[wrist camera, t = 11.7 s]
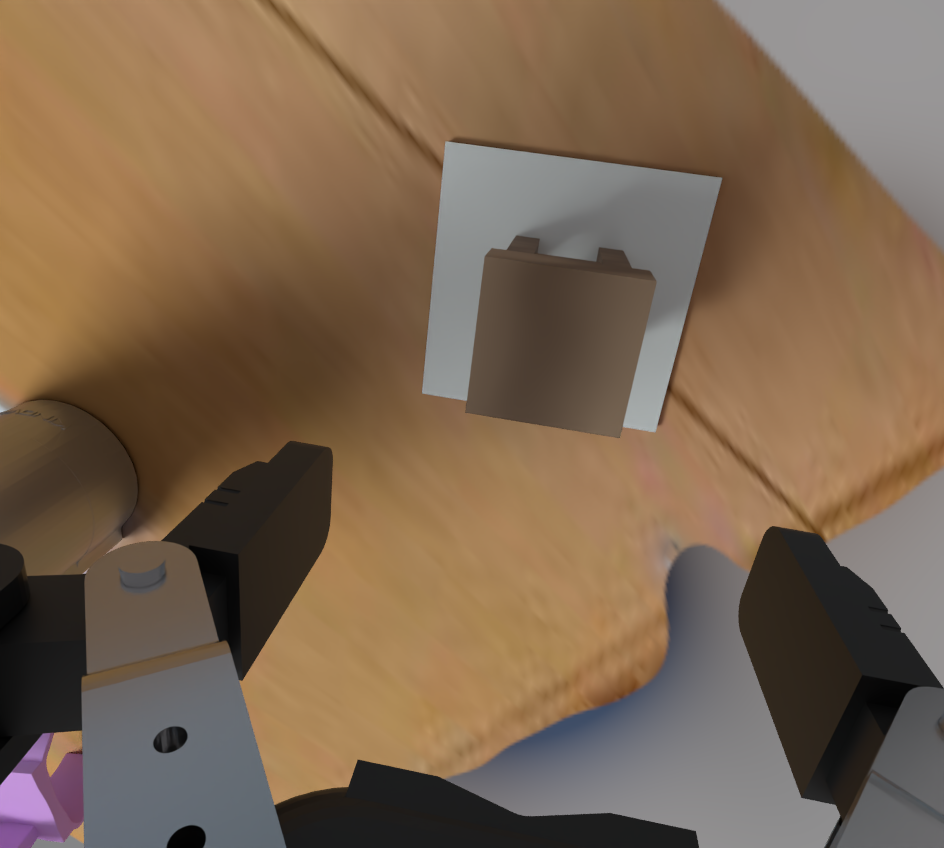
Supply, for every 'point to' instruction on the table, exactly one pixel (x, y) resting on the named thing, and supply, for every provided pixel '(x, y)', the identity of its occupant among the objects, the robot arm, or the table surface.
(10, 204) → the table surface
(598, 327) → the stool
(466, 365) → the mat
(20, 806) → the toy chair
